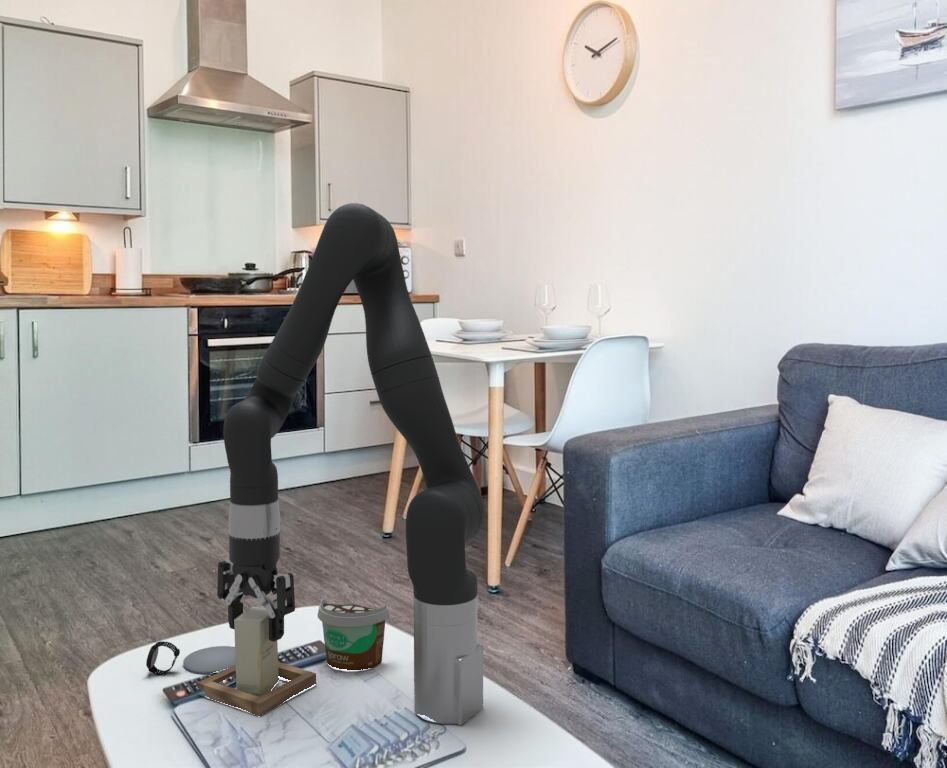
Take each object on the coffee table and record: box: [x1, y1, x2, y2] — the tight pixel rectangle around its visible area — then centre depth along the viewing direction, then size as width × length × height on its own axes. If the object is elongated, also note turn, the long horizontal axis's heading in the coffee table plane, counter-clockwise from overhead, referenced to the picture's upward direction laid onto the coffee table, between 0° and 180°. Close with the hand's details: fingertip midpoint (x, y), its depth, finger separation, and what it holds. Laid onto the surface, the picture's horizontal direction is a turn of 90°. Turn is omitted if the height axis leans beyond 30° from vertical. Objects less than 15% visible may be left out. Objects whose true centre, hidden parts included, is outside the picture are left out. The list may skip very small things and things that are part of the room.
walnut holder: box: [196, 661, 317, 717], centre depth 131 cm, size 13×12×2 cm
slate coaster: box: [183, 645, 236, 675], centre depth 142 cm, size 10×10×1 cm
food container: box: [317, 597, 390, 670], centre depth 140 cm, size 12×6×10 cm, turn 73°
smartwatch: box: [145, 640, 181, 676], centre depth 137 cm, size 4×5×5 cm
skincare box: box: [233, 606, 280, 697], centre depth 131 cm, size 6×4×12 cm
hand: (255, 633), depth 131 cm, fingers open, 8 cm apart
